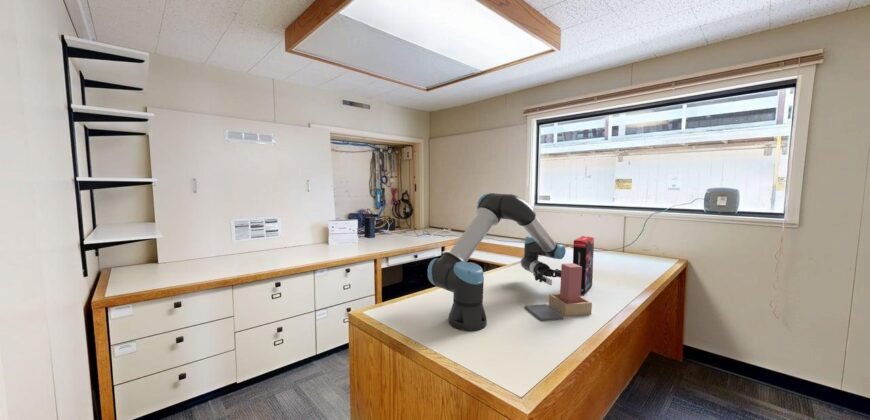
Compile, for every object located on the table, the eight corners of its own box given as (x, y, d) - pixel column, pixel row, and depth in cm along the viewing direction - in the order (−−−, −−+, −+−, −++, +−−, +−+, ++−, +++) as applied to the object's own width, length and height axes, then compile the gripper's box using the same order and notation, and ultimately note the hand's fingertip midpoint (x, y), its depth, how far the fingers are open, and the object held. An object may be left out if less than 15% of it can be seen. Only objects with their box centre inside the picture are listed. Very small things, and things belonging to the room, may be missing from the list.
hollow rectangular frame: (565, 316, 138) (565, 304, 138) (548, 304, 151) (549, 294, 150) (591, 313, 141) (591, 302, 140) (573, 303, 153) (573, 292, 153)
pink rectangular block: (567, 312, 142) (569, 267, 140) (559, 307, 148) (561, 263, 146) (579, 311, 143) (582, 266, 142) (571, 306, 149) (573, 263, 147)
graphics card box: (584, 295, 164) (587, 241, 162) (570, 292, 168) (573, 239, 166) (592, 286, 178) (595, 237, 175) (578, 284, 182) (581, 235, 179)
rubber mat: (541, 321, 133) (541, 318, 133) (524, 307, 147) (524, 305, 147) (563, 319, 135) (563, 316, 135) (545, 306, 149) (545, 304, 149)
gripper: (561, 275, 174) (587, 288, 153) (517, 277, 169) (539, 291, 148) (561, 261, 173) (588, 272, 153) (518, 263, 168) (540, 275, 147)
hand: (564, 281), depth 150 cm, fingers open, 13 cm apart
